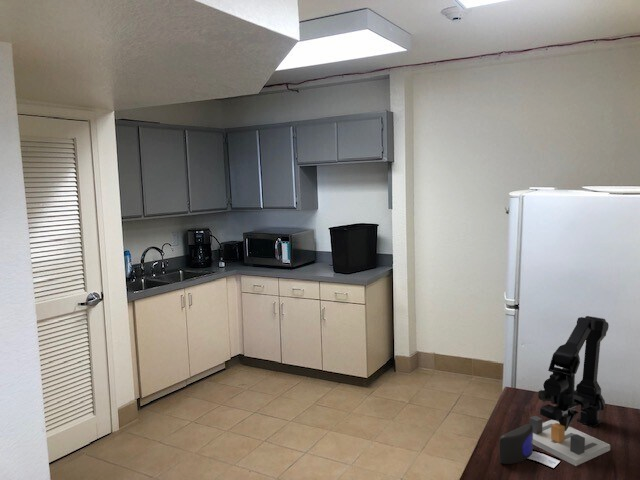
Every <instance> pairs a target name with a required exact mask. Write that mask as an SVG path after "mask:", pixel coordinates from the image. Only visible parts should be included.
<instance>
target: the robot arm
mask: <svg viewBox="0 0 640 480" xmlns="http://www.w3.org/2000/svg"><path fill="white" fill-rule="evenodd" d="M608 331H609V322H608V321H607V320H606V319H605V318H603V317H597V316H589V315H586V316H585V317H582V316H581V317H578V318H577V320H576V325H575V327H574V328H573V329H572V331H571V333H570V335H569V337H568V339H567V340H566V342H565V343H564V344H562V345H559V346H558V348H556V350H555V351H554V352H553V354H552V356H551V359H550V360H551V361H550V363H549V367H548V370H547V371H548V372H550V373H551V374H549V378H548V379H546V380H544V383H543V389H540V390H538V393H537V397H538V400H539V401H542V402H543V403H545V402H550V404H549V403H548V404H546V405H542V406H540V407H539V415H541V416H543V417H545V418H547V419H550V420H556V421H558V422H559V423H560V424H561V425H563V426H565V431H566V430H567V429H568V427H570V426H571V424H572V423H573V421H574V419H575V418H576V416H577V415H578V414H579V413H580V414H579V416H580V417H578V418H576V421H577V422H580V423H582V424H584V425H587V426H589V427H591V428H592V427H596V426H598V425H601V424H603V420H600V419H599V418H600V417H599V416H600V411H604V410H605V406H606V400H605V399H604V397H603V395H602V388H601V386H600V385H599V382H598V372H599V362H600V361H599V359H600V349H601V342H602V341H603V340H604V338H605V337H607V332H608ZM584 344H585V345H584ZM583 346H584V358H583V359H584V360H583V371H582V379H581V381H580V382H578V383H577V384H576V383H575V382H576V381H575V380H576V374H577V373H578V372H577V371H578V369H579V367H580V365H581V358H580V355H579V354H580V351H581V349H582V348H583ZM575 384H576V387H575ZM554 405H555V406H554ZM579 406H580V412H579V411H578V410H576V408H577V407H579Z"/></svg>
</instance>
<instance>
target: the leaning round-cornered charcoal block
mask: <svg viewBox="0 0 640 480" xmlns="http://www.w3.org/2000/svg"><path fill="white" fill-rule="evenodd" d="M498 440H499V441H498V460H499V462H500V463H501V464H503V465H513V464H518V463H520V462H525V460H527V459H529V458H530V457H531V455H532V454H533V452H534V451H533V447H534V445H533V426H532V425H531V424H530V423H525V424H524V425H521V426H520V427H517V428H515V429H513V430H511V431H508V432H506V433H504V434H502V435H501V436H500V437H499V439H498Z"/></svg>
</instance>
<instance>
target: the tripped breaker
mask: <svg viewBox="0 0 640 480" xmlns="http://www.w3.org/2000/svg"><path fill="white" fill-rule="evenodd" d="M551 439H552V440H554V441H556V442H558V443H559V442H562V441H564V440H565V426H563V425H561V424H559V423H555V424H553V425H551Z"/></svg>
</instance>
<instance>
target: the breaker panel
mask: <svg viewBox="0 0 640 480" xmlns="http://www.w3.org/2000/svg"><path fill="white" fill-rule="evenodd" d="M555 423H559V420H552V419H550V420H547V421H544V420H543V418H542V417H539V416H537V415H533V416H531V417H529V424H531V425H532V426H533V446H535V447H537V448H540V449H541V450H543V451H545V452H547V453H549V454H551V455H553V456H555V457H557V458H558V459H561V460H563V461H565V462H567V463H569V464H571V465H573V466H575V467H577V466H580V465H581V464H584V463H585V462H588V461H590V460H592V459H595V458H597V457H598V456H601V455H603V454H605V453H607V452H609V451H611V444H609V443H607V442H606V441H603V440H600V439H598V438H596V437H594V436H592V435H589V434H587V433H584V432H583V431H581V430H578V429H576V428H574V427H572V426H569V427H568V429H567V430H566V431H565V440H564V441H562V442H559V443H558V442H556V441H554V440H552V439H551V425H553V424H555ZM559 424H560V423H559Z"/></svg>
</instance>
